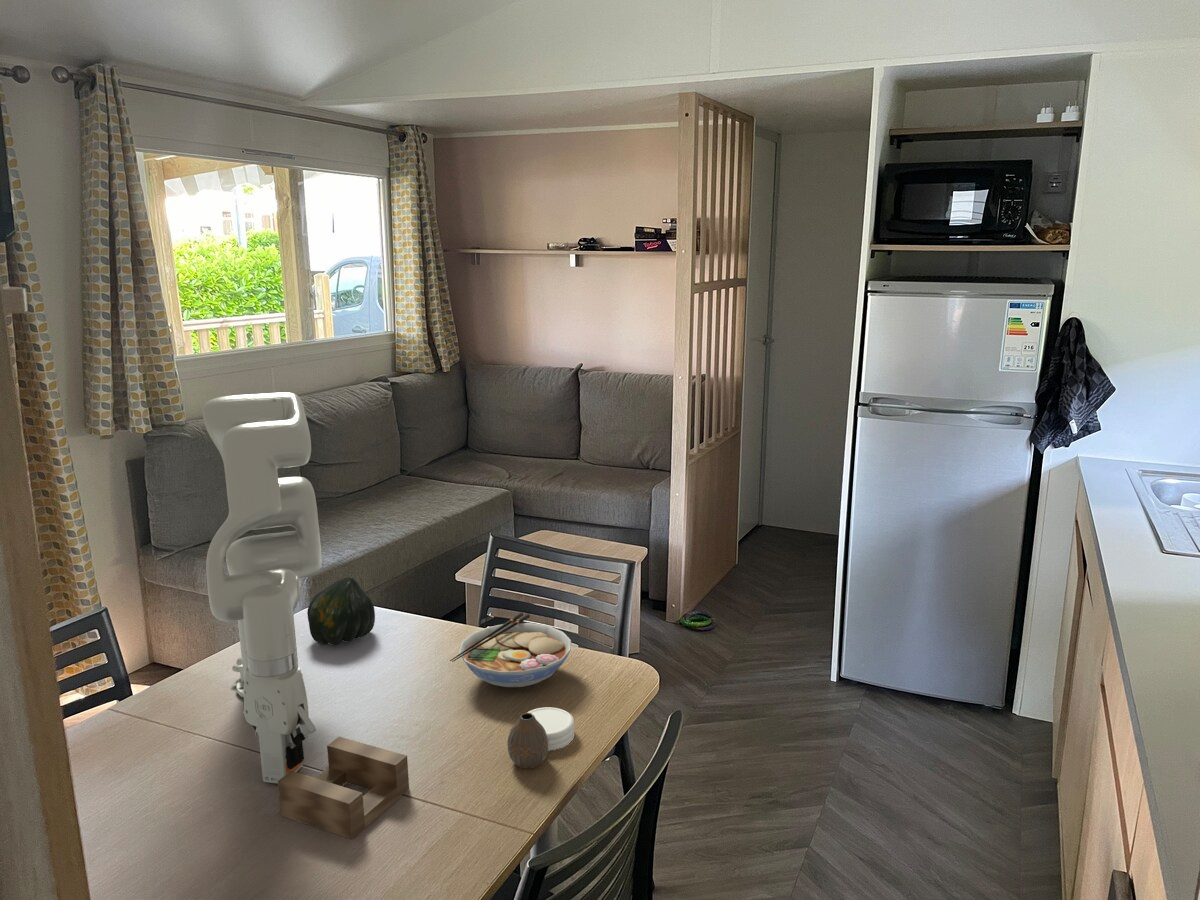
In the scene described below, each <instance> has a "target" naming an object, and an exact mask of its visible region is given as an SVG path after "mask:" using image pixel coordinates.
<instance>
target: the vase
mask: <svg viewBox="0 0 1200 900" xmlns="http://www.w3.org/2000/svg"><path fill="white" fill-rule="evenodd" d="M506 745H507V752H508V755H509V758H510V760H511V762H513V763H514V764H515V766H517V767H519V768H521V769H524V768H525V770H527V769H528V770H530V769H529V768H531V769H534V768H536V767H538V766H540V764H541V763H542V762H544V760H545V759H546V756H547V753H548V751H547V750H548V738H547V734H546V731H545V729H544V727H543V726H542V725H541V724H540V723H539V722H538V721H537V720H536V718H535V716H534V715H533V714H532V713H527V712H523V713H521V714H520V716H519V717H518V719H517V721H515V723H514V725H513V726H512V727H511V729H510V731H509V733H508V737H507V744H506Z"/></svg>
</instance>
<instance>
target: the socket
mask: <svg viewBox="0 0 1200 900" xmlns="http://www.w3.org/2000/svg"><path fill="white" fill-rule="evenodd" d="M326 750H327V751H326V752H327V763H328V767H326V768H325V769H324V770H322V772H321V773H320V772H319V774H318V775H317V776H315V777H314V776H309V775H307V774H303V773H300V772H298V771H297V772H294V771H291V772H289V773H288V774H287V775H285V776H284V777H283V778H281V779H280V780H278V784H277V788H278V795H279V796H278V798H279V806H280V809H279V810H280V815H281V816H283V817H286V818H287V819H291V820H294V821H296V822H300V823H303V824H306V825H309V826H311V827H315V828H318V829H321V830H323V831H326V832H329V833H333V834H335V835H339V836H342V837H345V838H347V839H350V840H353V839H354V838H356V836H358V835H359V834H360V833H361V832H362V831H363V830H365V828H366V827H367V826H369V825H371V823H373V821H375V819H377V818H378V817H379V816H380V815H382V814H383V813H384V812H385V811H386V810H387V809H388V808H389V807H390V806H391V805H392V804H394V803H395V802H397V800H398V799H399V798H400V797H402V795H404V794H405V793H406V792H407V791H409V789H410V781H409V780H410V779H409V763H408V755H407V754H406V755H405V754H402V753H399V752H395V751H392V750H388V749H384V748H382V747H377V746H374V745H372V744H371V745H370V744H367V743H364V742H360V741H356V740H353V739H349V738H345V737H343V736H342V737H341V736H338V737H336V738H335V739H334V740H332V741H331V742H330V743H328V744H327V745H326ZM346 784H349V785H353V786H356V787H358V788H363V789H365V790H368V791H367V792H366V793H365V794H363V792H361V791H358V790H354V789H351V788H348V787H346V786H345V787H344V785H346Z"/></svg>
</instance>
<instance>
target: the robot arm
mask: <svg viewBox="0 0 1200 900" xmlns="http://www.w3.org/2000/svg"><path fill="white" fill-rule="evenodd" d="M304 407H305V406H304V403H303V401H302V399H301V398H300V396H299V395H298V394H296V393H294V392H289V391H288V392H287V391H286V392H285V391H284V392H283V391H282V392H269V393H268V392H266V393H250V394H248V393H247V394H234V395H233V394H232V395H225V396H224V395H223V396H218V397H216V398H212V399H209V400H208V401H206V402H205V403H204V405H203V407H202V419H203V423H204V426H205V428H206V432H207V433H208V435H209V437H210V438H211V440H212V442H213V443H214V445H215V447H216V448H217V450H218V452H219V454H220V456H221V459H222V462H223V467H224V475H225V476H224V477H225V484H226V485H225V486H226V495H227V503H228V504H227V506H228V514H227V515H228V516H227V518H225V520H224V522H223V523H222V524H221V526H219V528H218V530H217V531H216V533H215V534H214V536H213V537H212V540H211V541H210V544H209V545H208V546H209V547H208V549H207V554H206V558H205V559H206V561H205V566H206V567H205V569H206V573H205V574H206V581H207V582H206V583H207V593H208V602H209V608H210V611H211V613H212V616H213V617H214V618H215V619H216V620H218V621H221V622H226V623H227V622H234V621H237V625H238V633H239V635H238V637H239V645H240V655H241V656H239V657H238V658H237V659H236V664H233V666H232V667H231V668H232V669H231V670H232V672H236V673H240V675H239V676H240V679H239V680H238V681H237V683H236V686H235V687H236V693H237V695H238V694H239V695H238V696H240V697H241V698H243V707H244V709H243V712H242V713H243V715H244V718H245V720H246V722H247V723H248V725H250V726H252V727H253V729H254V730H255V737H256V738H258V739H259V733H258V723H257V717H258V716H262V717H264V718H266V719H267V718H269V719H268V723H269V728H270V731H272V732H276V733H279V734H283V735H285V736H286V740H287V743H288V746H287V747H286V756H287V767H288V768H289V769H293V768H294V767H295V766H297V765H298V764H299V763H301V762H302V761H303V762H304V760H305V755H304V752H305V751H304V744H303V741H305V740H306V739H307V738H308V737H309V736H310V735H312V734H313V733H315V732H316V731H317V728H316V725H315V724H314V723H313V721H312V719H310V717H309V714H310V713H309V705H308V704H309V703H308V697H307V689H306V687H305V681H304V678H303V673H302V670H301V667H299V660H298V650H297V648H298V647H297V638H296V626H295V616H294V612H295V609H296V608H297V605H298V603H299V602H300V600H301V597H302V584H301V579H306V578H309V577H314V576H315V575H316V574H318V573H319V572H320V570H321V568H322V562H323V560H322V546H321V537H320V535H321V534H320V525H319V518H318V517H319V515H318V507H317V500H316V499H317V498H316V494H315V493H316V492H315V490H314V487H313V484H312V483H311V481H309V479H307V478H306V477H304V476H297V475H296V476H285V477H279V474H278V469H283V468H292V467H293V468H294V467H301V466H305V465H306V464H308V463H309V461H310V459H311V453H312V439H311V432H310V428H309V424H308V419H307V416H306V411H305V408H304ZM288 526H290V527H293V528H294V529H295V530H290V531H283V532H275V533H274V532H272V533H270V532H269V533H265V534H264V533H262V534H255V535H248V536H245V537H242V538H240V537H241V536H243V535H244V534H246V533H247V532H249V531H253V530H264V529H272V528H281V527H288ZM225 563H226V565H227V570H228V574H229V575H226V574H225V567H224V566H225ZM293 731H296V734H297V735H296V736H295V737H294V736H293V733H292V732H293Z"/></svg>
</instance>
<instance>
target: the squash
mask: <svg viewBox="0 0 1200 900" xmlns="http://www.w3.org/2000/svg"><path fill="white" fill-rule="evenodd" d="M375 620H376V610H375V606H374V603H373V600H372V598H371V597H370V595H369V594H368V593H367V592H366V591H365V589H364V588H363V587H362V586H361V585H360V583H359V582H358V581H357V580H356V579H355V578H354V577H353V576H347V577H343V578H340V579H338V580H336V581H334V582H333V583H331V584H329V585H328V586H327V587H325V588H324V589H323V590H321V591H319V592H317V594H315V595H313V597H312V598H311V599H310V602H309V604H308V608H307V621H308V628H309V632H310V635H311V637H312V639H313V640H314V641H315V642H316V643H318V644H321V645H330V646H337V645H340V644H341V643H342V642H345V643H350V642H353V641H354V640H357V639H359V638H362V637H364V636H367V635H369V634H370V633H371V632H372V630H373V629H374V627H375V622H376V621H375ZM328 643H329V644H328Z"/></svg>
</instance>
